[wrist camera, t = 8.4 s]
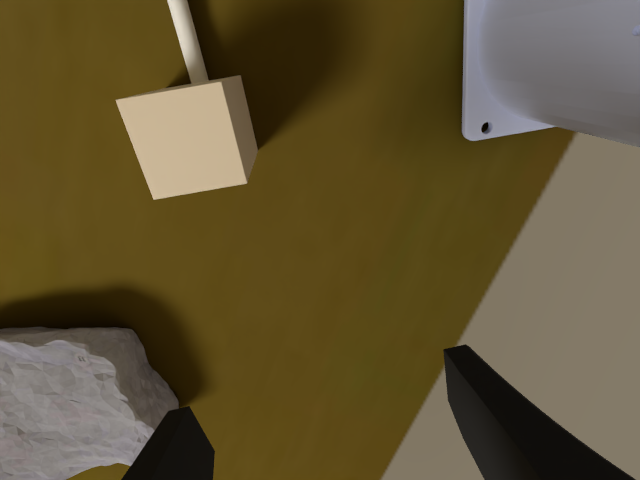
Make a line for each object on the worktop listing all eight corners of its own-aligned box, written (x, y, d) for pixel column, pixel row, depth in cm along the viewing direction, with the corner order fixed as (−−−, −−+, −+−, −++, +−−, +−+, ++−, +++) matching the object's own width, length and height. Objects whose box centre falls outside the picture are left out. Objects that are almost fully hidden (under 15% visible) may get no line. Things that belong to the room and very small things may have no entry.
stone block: (-55, 323, 22) (19, 455, 24) (-149, 372, 17) (-45, 528, 20) (139, 275, 22) (192, 412, 25) (97, 310, 17) (169, 474, 20)
